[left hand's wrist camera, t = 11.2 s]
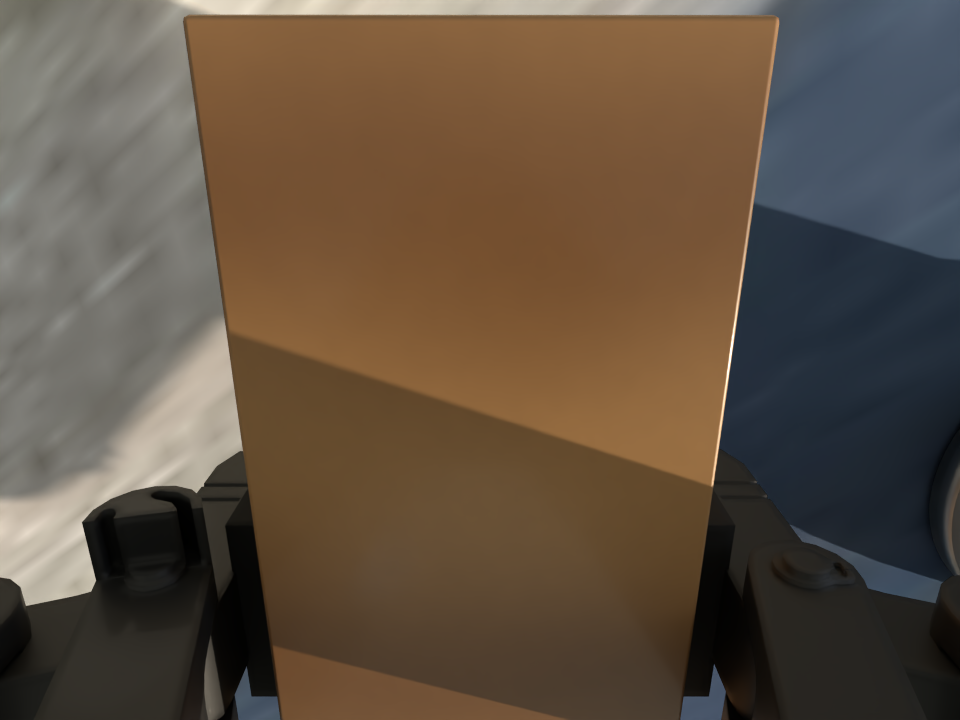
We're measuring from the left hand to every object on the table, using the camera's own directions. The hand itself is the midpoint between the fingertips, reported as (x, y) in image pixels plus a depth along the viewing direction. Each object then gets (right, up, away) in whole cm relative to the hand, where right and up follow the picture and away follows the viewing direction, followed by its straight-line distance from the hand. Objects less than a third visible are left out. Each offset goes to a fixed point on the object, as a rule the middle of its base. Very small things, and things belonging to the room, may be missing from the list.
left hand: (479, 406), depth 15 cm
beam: (0, -27, +11) cm, 29 cm away
